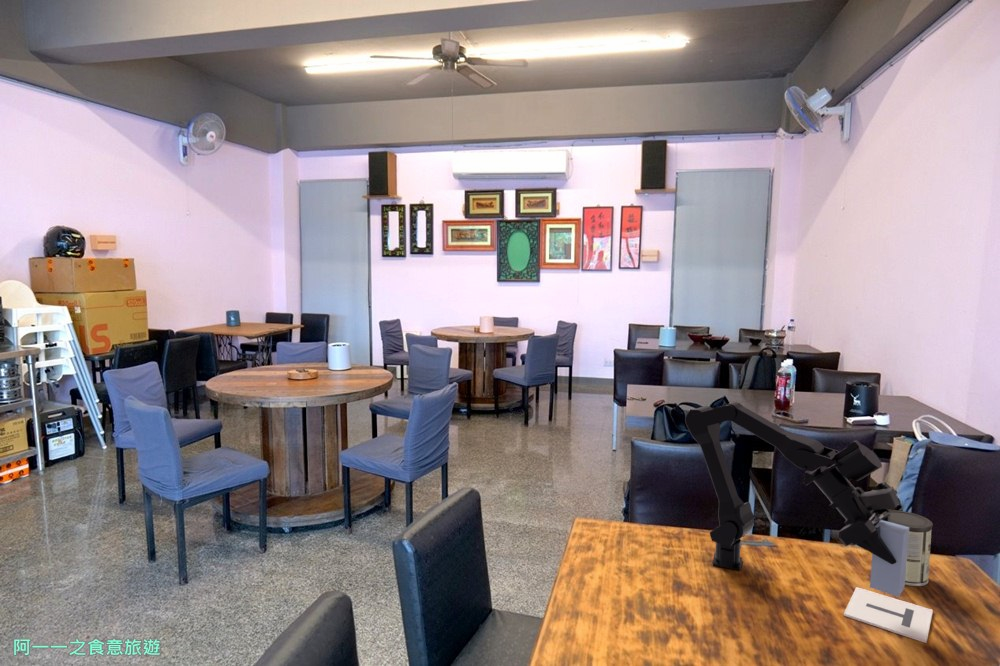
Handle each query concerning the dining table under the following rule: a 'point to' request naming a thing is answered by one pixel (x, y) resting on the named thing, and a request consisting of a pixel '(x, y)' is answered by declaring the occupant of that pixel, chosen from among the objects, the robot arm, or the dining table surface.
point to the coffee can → (915, 545)
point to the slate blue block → (884, 573)
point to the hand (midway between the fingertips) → (897, 558)
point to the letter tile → (890, 614)
